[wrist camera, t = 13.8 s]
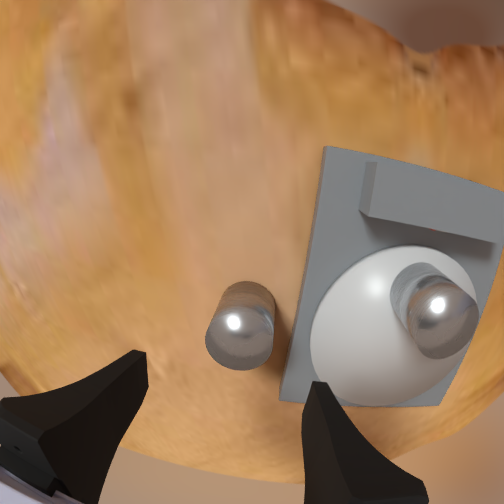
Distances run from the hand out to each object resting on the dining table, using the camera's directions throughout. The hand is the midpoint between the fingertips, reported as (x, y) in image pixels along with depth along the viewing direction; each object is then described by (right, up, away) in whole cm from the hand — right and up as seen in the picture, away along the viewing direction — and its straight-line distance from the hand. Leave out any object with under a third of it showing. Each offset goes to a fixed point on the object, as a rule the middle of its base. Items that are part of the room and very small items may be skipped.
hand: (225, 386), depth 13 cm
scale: (+12, +2, +9) cm, 15 cm away
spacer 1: (+1, +2, +10) cm, 11 cm away
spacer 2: (+12, +3, +6) cm, 14 cm away
